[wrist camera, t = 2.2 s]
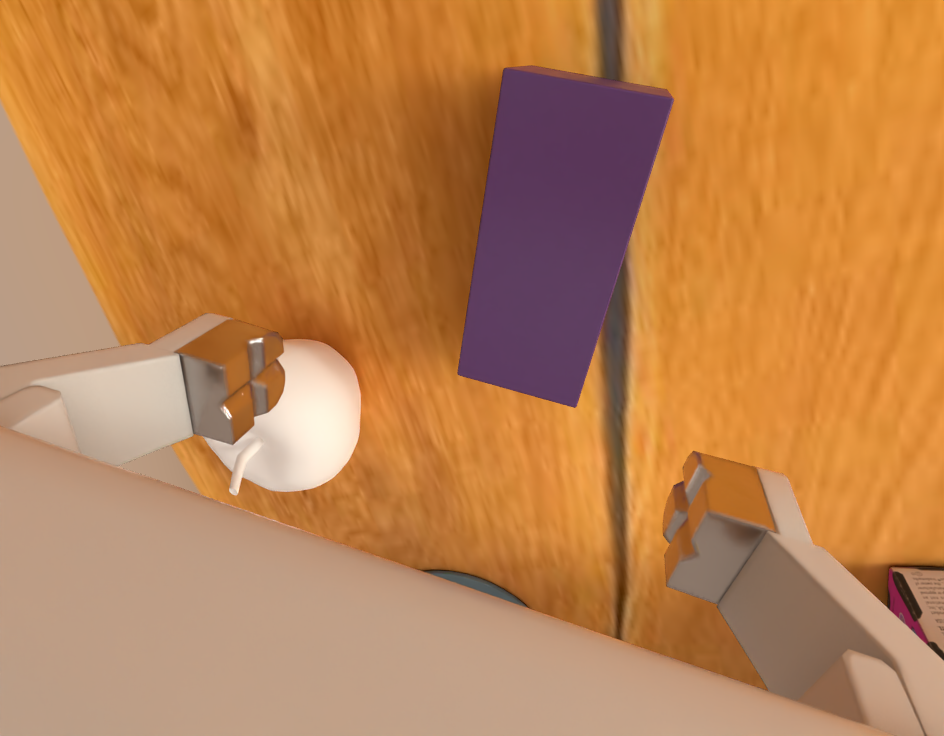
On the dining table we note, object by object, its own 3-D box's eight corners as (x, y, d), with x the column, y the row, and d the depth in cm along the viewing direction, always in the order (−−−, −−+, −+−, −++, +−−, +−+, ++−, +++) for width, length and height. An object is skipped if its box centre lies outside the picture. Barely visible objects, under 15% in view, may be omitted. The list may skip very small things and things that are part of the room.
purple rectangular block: (530, 65, 17) (503, 67, 14) (668, 89, 16) (674, 98, 13) (484, 328, 22) (456, 375, 19) (586, 355, 22) (575, 408, 18)
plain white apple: (342, 451, 29) (254, 568, 22) (242, 365, 28) (116, 462, 21) (415, 385, 25) (334, 503, 18) (302, 283, 24) (172, 369, 17)
